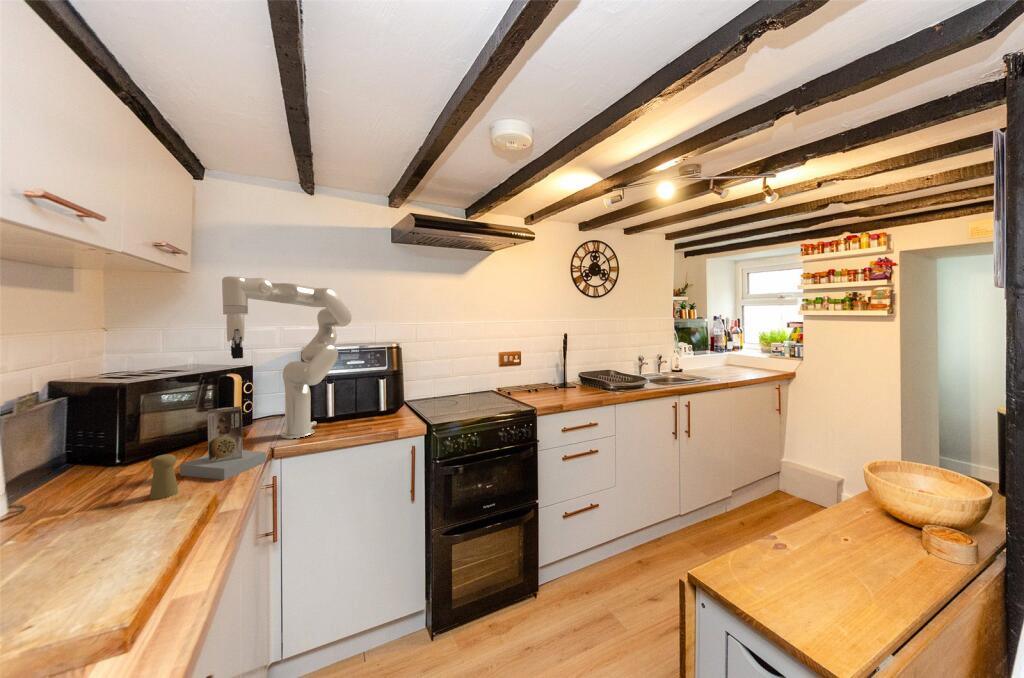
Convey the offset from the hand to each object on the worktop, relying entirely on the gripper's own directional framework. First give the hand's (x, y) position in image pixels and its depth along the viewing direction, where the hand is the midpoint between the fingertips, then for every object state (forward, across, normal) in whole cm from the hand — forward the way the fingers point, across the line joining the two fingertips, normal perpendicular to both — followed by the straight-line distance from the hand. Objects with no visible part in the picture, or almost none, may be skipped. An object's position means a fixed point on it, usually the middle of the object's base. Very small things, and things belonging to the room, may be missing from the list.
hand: (237, 357), depth 144 cm
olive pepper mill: (+35, +33, -19) cm, 51 cm away
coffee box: (+32, +18, -5) cm, 37 cm away
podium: (+35, +19, -5) cm, 40 cm away
